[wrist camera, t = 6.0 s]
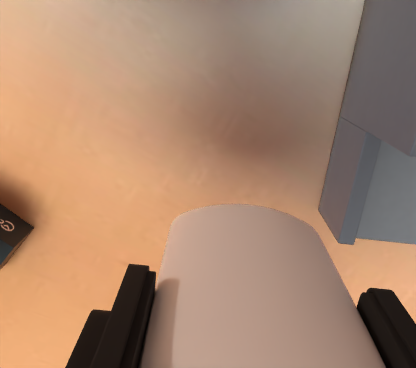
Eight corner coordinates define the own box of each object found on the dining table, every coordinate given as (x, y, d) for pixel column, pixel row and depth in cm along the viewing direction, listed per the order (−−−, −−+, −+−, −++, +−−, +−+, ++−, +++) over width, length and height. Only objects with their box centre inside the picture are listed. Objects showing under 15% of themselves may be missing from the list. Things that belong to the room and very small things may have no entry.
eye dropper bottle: (264, 311, 16) (379, 945, 5) (151, 246, 15) (-38, 863, 4) (333, 237, 15) (709, 876, 4) (213, 158, 14) (206, 717, 2)
